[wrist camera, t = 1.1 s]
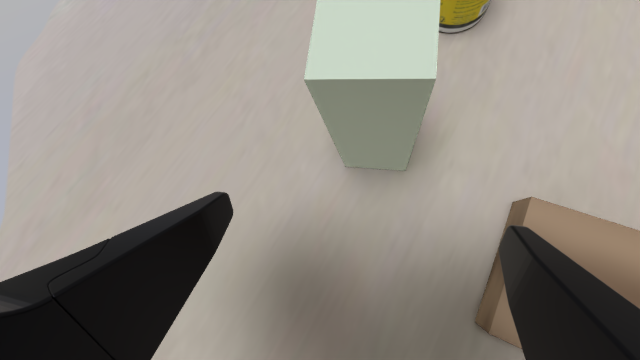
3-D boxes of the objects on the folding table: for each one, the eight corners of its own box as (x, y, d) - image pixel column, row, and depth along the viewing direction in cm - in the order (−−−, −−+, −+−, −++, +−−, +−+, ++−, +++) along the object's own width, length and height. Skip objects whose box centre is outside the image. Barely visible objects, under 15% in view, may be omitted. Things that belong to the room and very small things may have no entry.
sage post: (405, 171, 22) (435, 78, 10) (345, 166, 23) (304, 79, 11) (409, 115, 23) (442, -34, 11) (351, 113, 24) (320, -22, 12)
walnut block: (628, 391, 16) (680, 423, 13) (473, 319, 19) (488, 333, 16) (661, 252, 17) (716, 255, 15) (510, 203, 20) (531, 196, 17)
